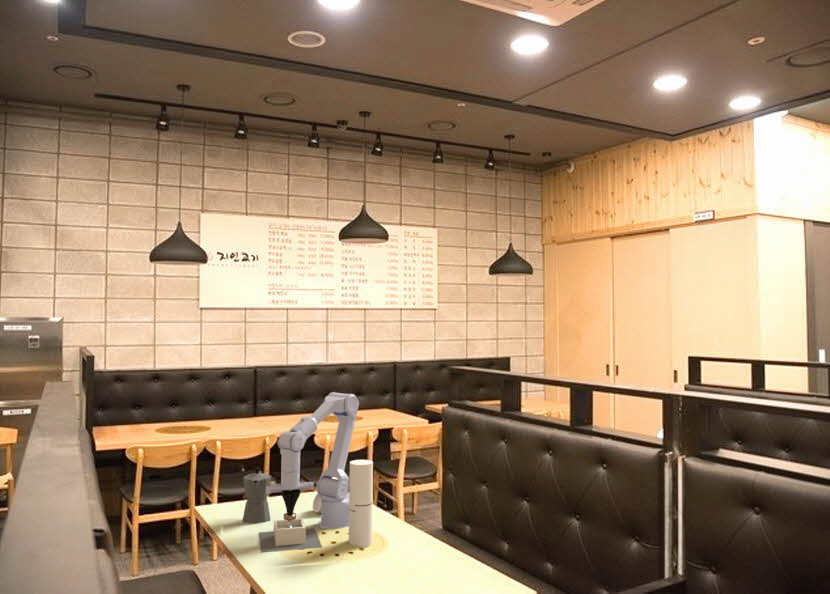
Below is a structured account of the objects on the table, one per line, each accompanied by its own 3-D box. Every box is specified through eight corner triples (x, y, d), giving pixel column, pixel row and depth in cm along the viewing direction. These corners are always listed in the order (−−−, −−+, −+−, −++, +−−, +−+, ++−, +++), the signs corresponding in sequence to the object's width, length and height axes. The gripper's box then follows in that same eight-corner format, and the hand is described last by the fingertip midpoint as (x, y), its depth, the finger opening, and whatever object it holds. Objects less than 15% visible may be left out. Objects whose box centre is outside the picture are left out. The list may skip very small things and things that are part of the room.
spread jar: (353, 510, 234) (354, 477, 235) (333, 518, 225) (334, 484, 225) (328, 504, 241) (328, 473, 241) (307, 512, 231) (308, 479, 231)
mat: (314, 529, 212) (314, 528, 212) (322, 549, 195) (322, 547, 195) (258, 534, 207) (258, 532, 207) (260, 554, 190) (260, 552, 190)
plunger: (298, 526, 205) (299, 510, 205) (300, 533, 199) (301, 516, 199) (278, 528, 203) (278, 511, 204) (279, 535, 197) (280, 518, 197)
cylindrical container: (368, 548, 196) (369, 465, 197) (345, 546, 197) (346, 464, 198) (374, 540, 203) (375, 460, 204) (352, 538, 204) (353, 459, 205)
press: (302, 533, 207) (302, 518, 207) (305, 543, 198) (305, 527, 198) (273, 535, 204) (274, 520, 204) (275, 545, 196) (275, 529, 196)
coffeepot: (268, 526, 215) (269, 472, 215) (239, 527, 214) (240, 472, 214) (272, 512, 230) (273, 461, 231) (245, 513, 229) (246, 462, 229)
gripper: (309, 465, 208) (309, 508, 208) (264, 469, 202) (263, 513, 202) (315, 470, 202) (315, 514, 202) (269, 474, 196) (268, 519, 196)
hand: (289, 514), depth 201 cm, fingers closed, pressing on plunger
